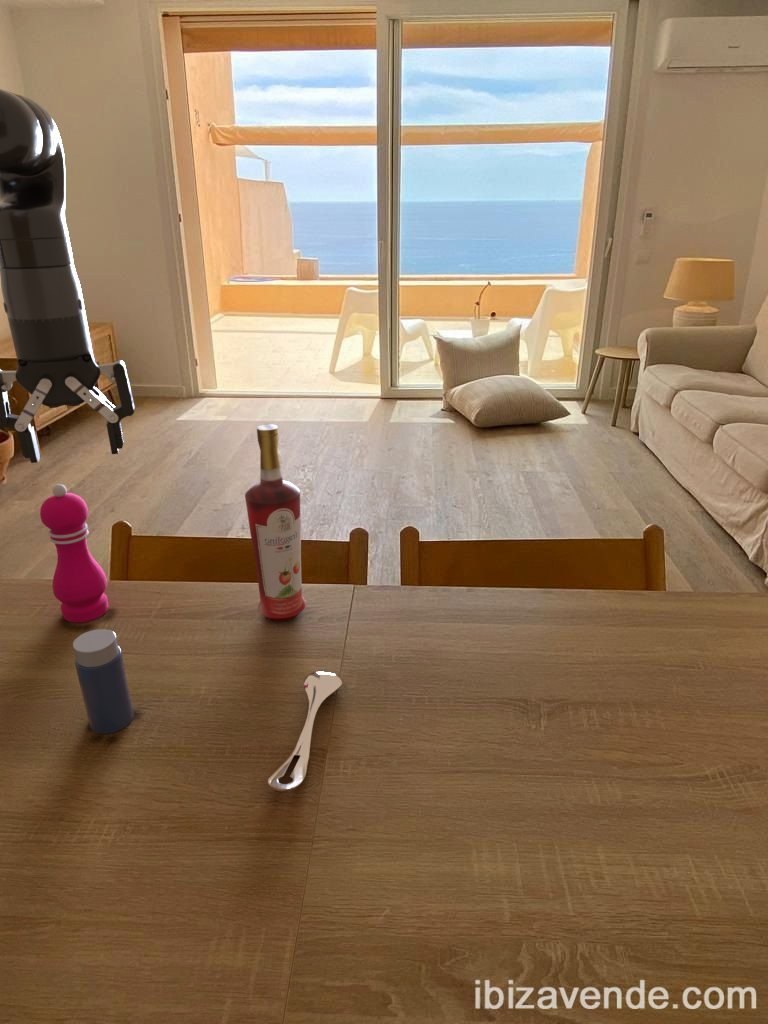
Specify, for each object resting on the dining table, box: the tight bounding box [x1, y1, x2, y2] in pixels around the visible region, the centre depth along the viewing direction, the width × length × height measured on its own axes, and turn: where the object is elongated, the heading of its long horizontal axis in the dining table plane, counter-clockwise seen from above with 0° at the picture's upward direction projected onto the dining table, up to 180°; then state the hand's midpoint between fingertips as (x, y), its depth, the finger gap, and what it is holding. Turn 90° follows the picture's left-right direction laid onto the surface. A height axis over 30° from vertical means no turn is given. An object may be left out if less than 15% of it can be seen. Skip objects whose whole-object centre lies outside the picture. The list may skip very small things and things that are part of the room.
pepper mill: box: [39, 483, 109, 623], centre depth 98 cm, size 7×7×20 cm
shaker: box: [72, 628, 134, 735], centre depth 78 cm, size 5×5×11 cm
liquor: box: [244, 423, 307, 623], centre depth 95 cm, size 7×7×28 cm
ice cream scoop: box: [267, 670, 344, 792], centre depth 77 cm, size 20×4×5 cm
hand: (76, 456), depth 80 cm, fingers open, 8 cm apart
